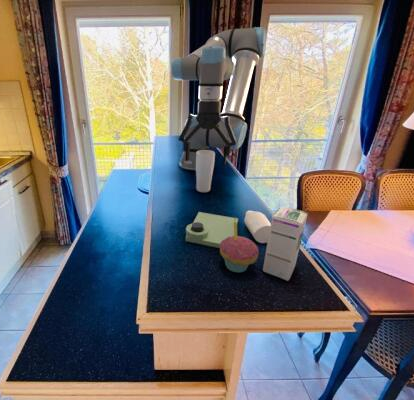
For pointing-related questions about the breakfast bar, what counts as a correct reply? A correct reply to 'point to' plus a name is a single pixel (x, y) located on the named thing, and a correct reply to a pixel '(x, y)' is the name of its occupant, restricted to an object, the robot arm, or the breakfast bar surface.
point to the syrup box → (284, 242)
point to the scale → (211, 229)
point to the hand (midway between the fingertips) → (205, 162)
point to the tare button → (197, 227)
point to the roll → (258, 225)
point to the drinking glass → (204, 169)
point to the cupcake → (238, 251)
